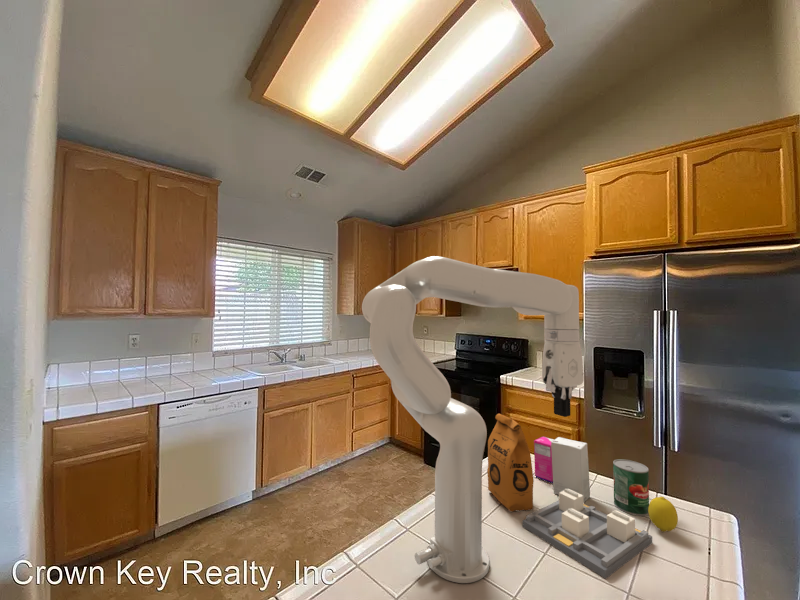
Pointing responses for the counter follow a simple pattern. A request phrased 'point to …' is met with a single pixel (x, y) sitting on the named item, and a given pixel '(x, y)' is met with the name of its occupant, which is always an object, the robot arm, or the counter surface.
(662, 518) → the lemon
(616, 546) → the switch board
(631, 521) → the tab near
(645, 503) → the canned tomato
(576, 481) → the skincare box
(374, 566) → the counter surface
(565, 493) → the tab far
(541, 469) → the supplement box
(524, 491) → the coffee package
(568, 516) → the tab middle
